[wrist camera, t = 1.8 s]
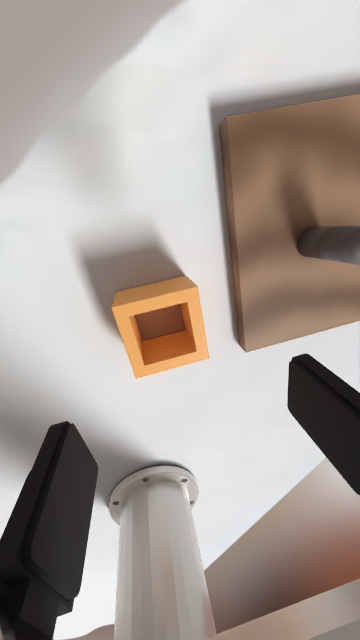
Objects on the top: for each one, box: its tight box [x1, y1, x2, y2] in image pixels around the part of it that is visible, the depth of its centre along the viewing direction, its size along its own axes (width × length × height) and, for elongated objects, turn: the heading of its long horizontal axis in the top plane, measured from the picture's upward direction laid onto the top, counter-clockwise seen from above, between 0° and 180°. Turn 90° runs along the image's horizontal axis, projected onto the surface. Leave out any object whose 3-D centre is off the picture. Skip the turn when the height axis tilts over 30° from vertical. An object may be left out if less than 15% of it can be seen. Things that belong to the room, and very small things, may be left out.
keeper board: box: [219, 94, 360, 352], centre depth 18 cm, size 20×14×7 cm
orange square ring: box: [111, 275, 209, 378], centre depth 20 cm, size 7×7×4 cm
